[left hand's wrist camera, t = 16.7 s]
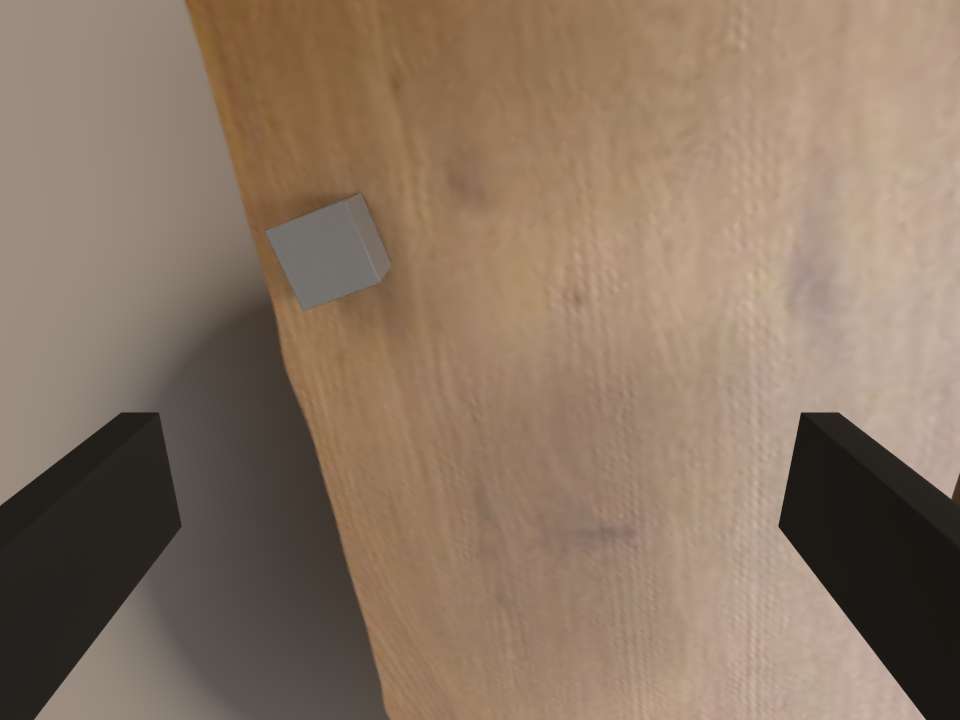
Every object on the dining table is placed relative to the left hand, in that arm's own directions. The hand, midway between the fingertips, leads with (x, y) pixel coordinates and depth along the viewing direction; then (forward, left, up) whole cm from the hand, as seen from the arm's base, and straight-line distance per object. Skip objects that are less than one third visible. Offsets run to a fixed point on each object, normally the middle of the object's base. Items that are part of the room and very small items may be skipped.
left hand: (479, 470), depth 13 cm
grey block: (0, -9, -29) cm, 30 cm away
